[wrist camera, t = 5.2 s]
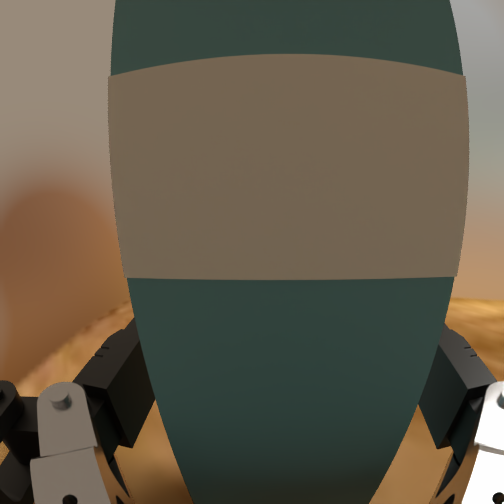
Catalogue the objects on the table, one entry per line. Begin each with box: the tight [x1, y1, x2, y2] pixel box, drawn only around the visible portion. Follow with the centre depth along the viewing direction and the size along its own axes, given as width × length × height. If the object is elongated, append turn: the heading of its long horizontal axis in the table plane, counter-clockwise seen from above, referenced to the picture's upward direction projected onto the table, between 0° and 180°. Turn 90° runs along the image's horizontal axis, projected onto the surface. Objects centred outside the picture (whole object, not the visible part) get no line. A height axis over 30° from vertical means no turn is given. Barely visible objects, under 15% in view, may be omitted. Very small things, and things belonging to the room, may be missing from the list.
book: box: [108, 0, 469, 504], centre depth 9 cm, size 8×4×20 cm, turn 175°
